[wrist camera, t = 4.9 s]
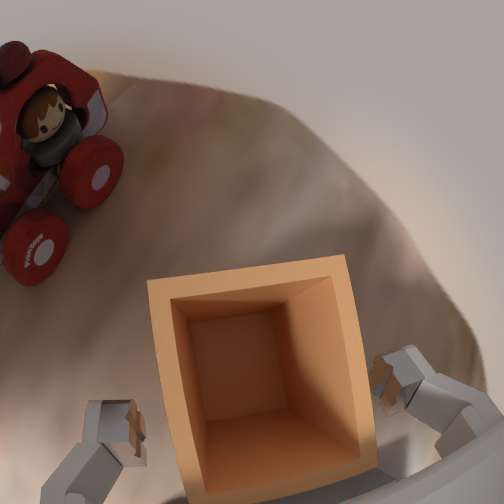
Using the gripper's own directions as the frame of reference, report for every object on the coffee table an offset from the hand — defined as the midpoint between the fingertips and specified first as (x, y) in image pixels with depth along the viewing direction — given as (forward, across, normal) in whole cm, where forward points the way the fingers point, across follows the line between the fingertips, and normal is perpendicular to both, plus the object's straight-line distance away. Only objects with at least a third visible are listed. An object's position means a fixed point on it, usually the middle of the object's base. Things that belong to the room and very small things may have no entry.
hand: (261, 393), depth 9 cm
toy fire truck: (+12, +10, -3) cm, 17 cm away
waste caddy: (+5, 0, +4) cm, 6 cm away
